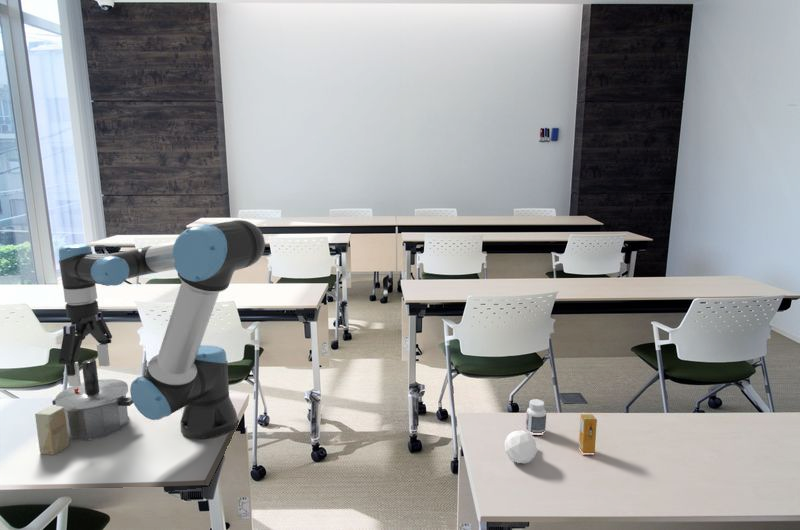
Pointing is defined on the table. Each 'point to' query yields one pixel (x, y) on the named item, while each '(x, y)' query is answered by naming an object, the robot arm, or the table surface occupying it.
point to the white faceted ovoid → (520, 446)
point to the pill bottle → (536, 416)
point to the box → (52, 429)
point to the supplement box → (587, 433)
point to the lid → (91, 391)
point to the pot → (97, 420)
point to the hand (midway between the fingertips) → (90, 375)
